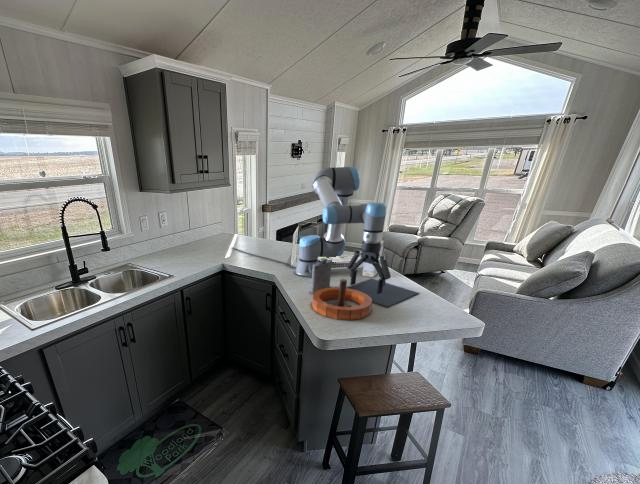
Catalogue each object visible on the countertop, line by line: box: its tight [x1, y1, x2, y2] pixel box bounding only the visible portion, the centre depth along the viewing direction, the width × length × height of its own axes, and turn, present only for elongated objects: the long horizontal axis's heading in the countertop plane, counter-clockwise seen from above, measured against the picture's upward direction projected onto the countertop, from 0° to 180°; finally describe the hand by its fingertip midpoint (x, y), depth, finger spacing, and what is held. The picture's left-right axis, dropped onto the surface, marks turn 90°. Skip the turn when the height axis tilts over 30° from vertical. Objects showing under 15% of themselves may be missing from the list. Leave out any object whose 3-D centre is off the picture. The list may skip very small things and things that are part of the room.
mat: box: [346, 278, 419, 308], centre depth 176 cm, size 28×28×1 cm
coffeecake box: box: [362, 239, 385, 278], centre depth 199 cm, size 15×7×20 cm, turn 145°
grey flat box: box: [310, 258, 333, 295], centre depth 177 cm, size 4×14×18 cm, turn 129°
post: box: [330, 278, 352, 307], centre depth 157 cm, size 7×7×14 cm
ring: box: [312, 286, 373, 321], centre depth 159 cm, size 27×27×5 cm
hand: (365, 288), depth 145 cm, fingers open, 13 cm apart
